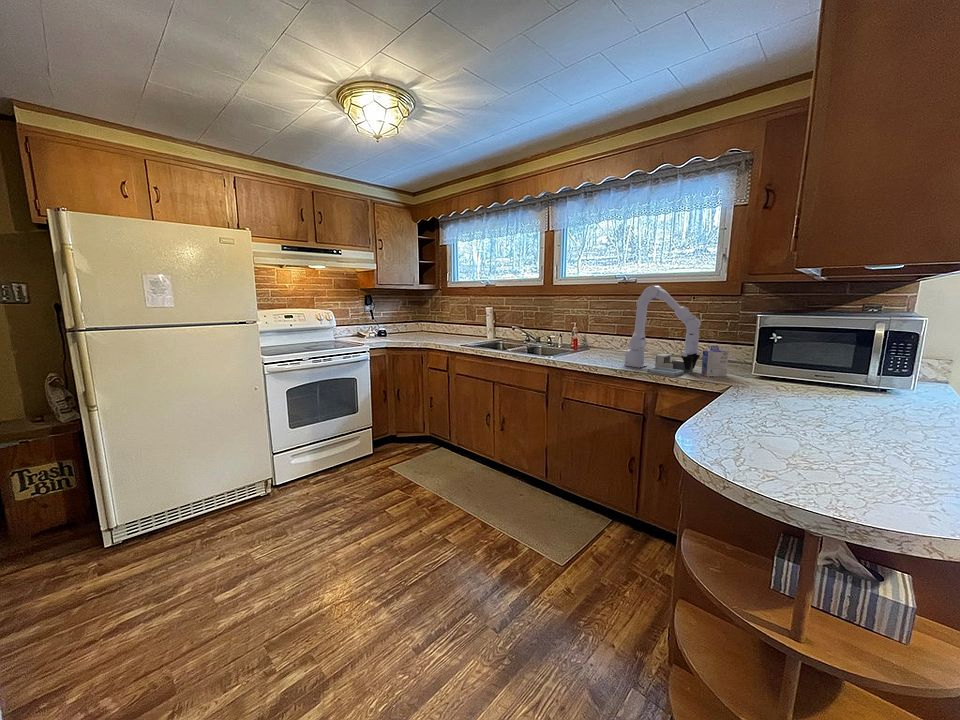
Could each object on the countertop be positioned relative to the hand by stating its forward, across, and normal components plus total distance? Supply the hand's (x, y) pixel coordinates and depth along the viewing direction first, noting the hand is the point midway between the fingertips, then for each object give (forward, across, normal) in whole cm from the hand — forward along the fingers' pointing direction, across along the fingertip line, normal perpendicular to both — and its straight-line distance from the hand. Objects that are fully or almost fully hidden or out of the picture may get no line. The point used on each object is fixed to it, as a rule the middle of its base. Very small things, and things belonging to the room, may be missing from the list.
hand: (689, 368), depth 196 cm
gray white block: (+2, 0, +4) cm, 4 cm away
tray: (+2, -12, +7) cm, 13 cm away
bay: (+2, 0, +11) cm, 11 cm away
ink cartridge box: (+2, 0, -11) cm, 11 cm away
